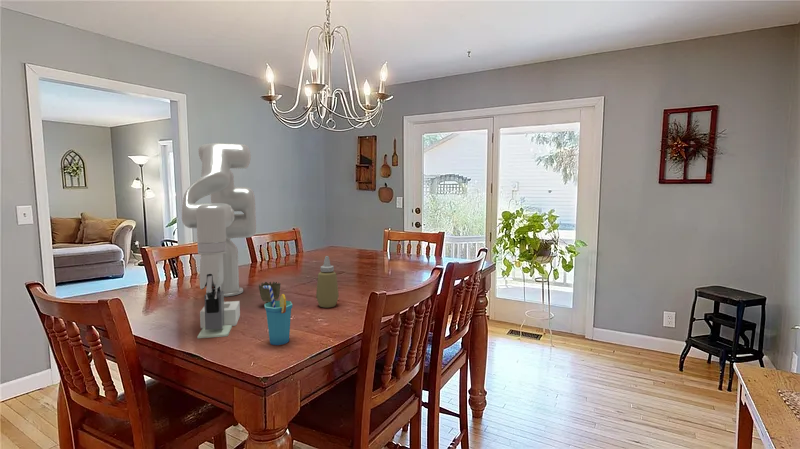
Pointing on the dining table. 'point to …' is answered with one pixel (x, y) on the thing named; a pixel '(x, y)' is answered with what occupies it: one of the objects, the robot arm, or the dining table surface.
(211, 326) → the plug
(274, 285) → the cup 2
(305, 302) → the dining table surface
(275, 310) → the cup
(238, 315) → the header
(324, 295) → the squeeze bottle
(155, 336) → the dining table surface
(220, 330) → the mat
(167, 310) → the dining table surface
